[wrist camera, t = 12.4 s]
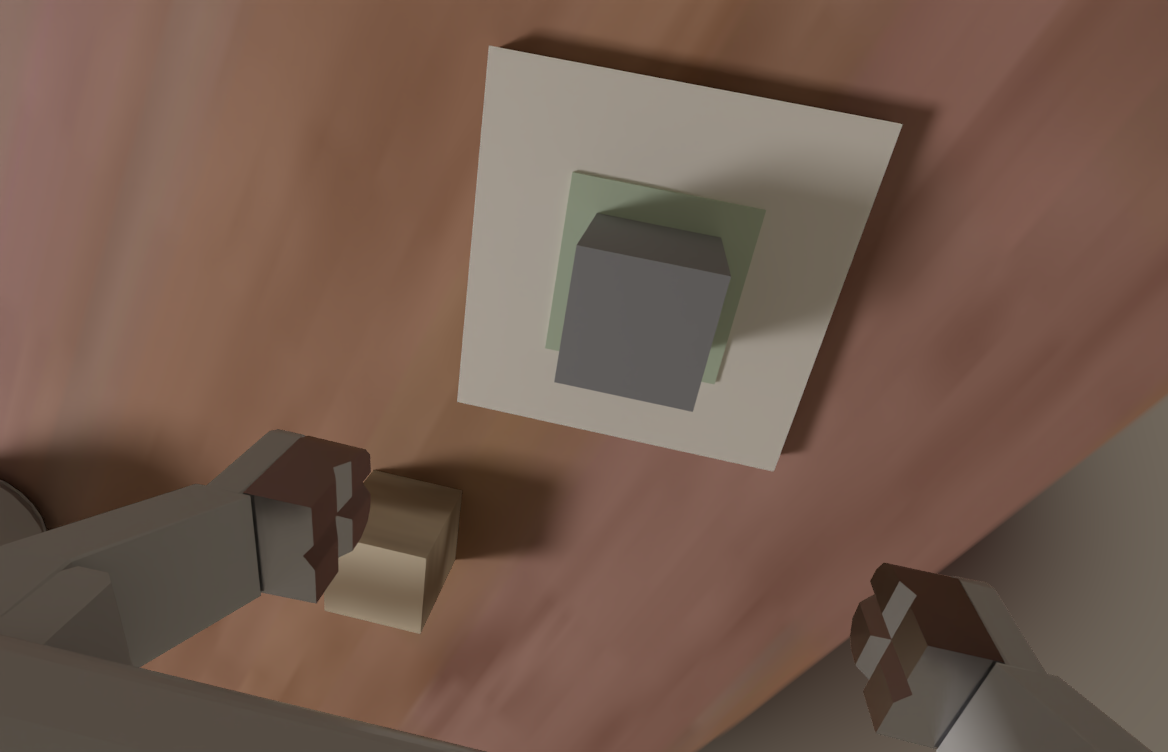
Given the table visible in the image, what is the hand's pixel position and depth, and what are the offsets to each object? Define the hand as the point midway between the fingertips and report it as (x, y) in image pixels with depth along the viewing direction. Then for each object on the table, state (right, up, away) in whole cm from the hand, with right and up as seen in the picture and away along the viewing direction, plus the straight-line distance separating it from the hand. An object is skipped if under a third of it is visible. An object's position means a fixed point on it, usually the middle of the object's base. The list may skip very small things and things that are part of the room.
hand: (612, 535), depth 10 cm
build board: (+2, +7, +15) cm, 17 cm away
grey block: (+2, +6, +14) cm, 15 cm away
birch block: (-9, -5, +22) cm, 24 cm away
